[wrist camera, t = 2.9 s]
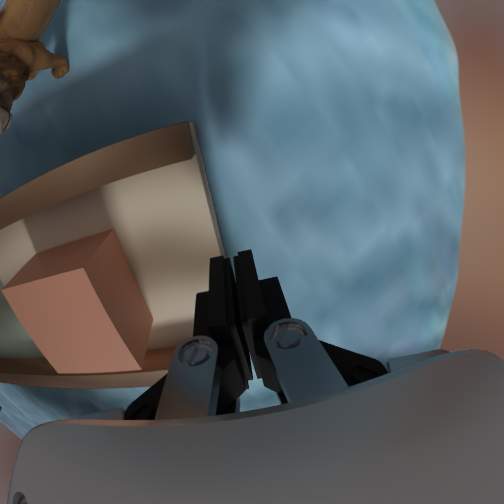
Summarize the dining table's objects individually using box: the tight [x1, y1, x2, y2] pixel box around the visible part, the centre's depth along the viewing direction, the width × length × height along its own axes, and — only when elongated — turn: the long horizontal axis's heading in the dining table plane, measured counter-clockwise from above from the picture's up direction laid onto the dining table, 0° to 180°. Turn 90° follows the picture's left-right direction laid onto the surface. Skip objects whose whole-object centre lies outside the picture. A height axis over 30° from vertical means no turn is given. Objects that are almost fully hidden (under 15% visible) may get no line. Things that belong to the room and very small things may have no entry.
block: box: [2, 229, 153, 373], centre depth 12 cm, size 6×6×4 cm
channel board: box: [0, 122, 226, 389], centre depth 14 cm, size 14×35×5 cm, turn 100°
